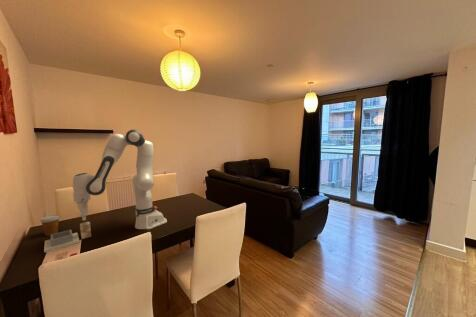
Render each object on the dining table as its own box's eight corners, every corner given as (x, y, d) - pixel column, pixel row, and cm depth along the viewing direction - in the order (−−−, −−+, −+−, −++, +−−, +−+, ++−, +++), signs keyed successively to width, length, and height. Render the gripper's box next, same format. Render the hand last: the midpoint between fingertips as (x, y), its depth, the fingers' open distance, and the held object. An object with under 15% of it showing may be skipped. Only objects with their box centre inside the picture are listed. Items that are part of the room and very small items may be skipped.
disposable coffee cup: (55, 229, 144) (54, 213, 143) (63, 231, 141) (62, 215, 139) (38, 235, 135) (37, 218, 134) (47, 238, 132) (45, 220, 131)
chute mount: (77, 234, 136) (76, 226, 136) (79, 242, 125) (78, 234, 125) (45, 243, 125) (44, 234, 125) (44, 252, 114) (43, 243, 114)
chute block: (90, 233, 137) (89, 221, 136) (91, 236, 133) (90, 223, 132) (80, 236, 134) (79, 223, 133) (81, 239, 130) (80, 225, 129)
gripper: (90, 200, 125) (91, 221, 127) (86, 193, 140) (87, 212, 141) (77, 202, 121) (78, 224, 122) (74, 195, 136) (75, 214, 137)
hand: (83, 217), depth 132 cm, fingers open, 8 cm apart
